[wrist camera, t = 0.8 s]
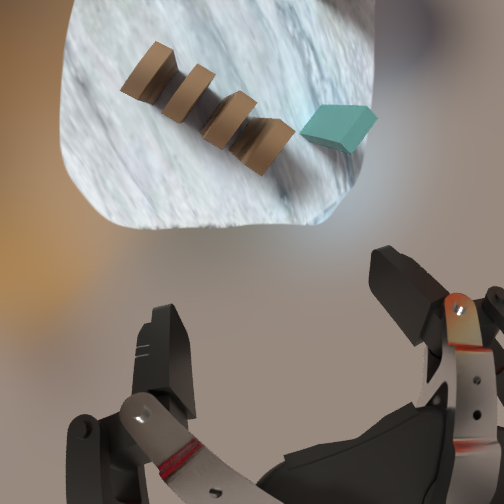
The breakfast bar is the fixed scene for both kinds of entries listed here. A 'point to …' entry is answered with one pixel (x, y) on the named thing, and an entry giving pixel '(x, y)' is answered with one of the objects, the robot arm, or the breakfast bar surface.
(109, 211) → the breakfast bar surface
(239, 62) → the breakfast bar surface
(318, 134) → the teal domino
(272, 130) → the domino
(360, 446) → the robot arm
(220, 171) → the breakfast bar surface
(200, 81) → the domino
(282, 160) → the breakfast bar surface
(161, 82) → the domino
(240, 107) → the domino
